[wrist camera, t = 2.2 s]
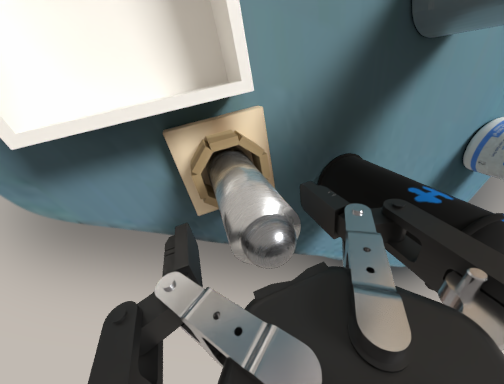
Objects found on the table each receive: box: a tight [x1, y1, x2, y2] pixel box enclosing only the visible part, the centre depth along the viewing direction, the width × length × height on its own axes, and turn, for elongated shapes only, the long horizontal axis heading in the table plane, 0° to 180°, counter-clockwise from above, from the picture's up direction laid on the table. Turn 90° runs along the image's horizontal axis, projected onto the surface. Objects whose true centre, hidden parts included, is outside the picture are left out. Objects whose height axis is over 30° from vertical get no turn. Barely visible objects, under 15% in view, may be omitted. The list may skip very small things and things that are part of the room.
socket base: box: [163, 106, 275, 216], centre depth 21 cm, size 10×10×4 cm
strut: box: [206, 146, 301, 269], centre depth 16 cm, size 5×5×14 cm
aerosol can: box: [318, 153, 504, 290], centre depth 21 cm, size 8×8×20 cm
